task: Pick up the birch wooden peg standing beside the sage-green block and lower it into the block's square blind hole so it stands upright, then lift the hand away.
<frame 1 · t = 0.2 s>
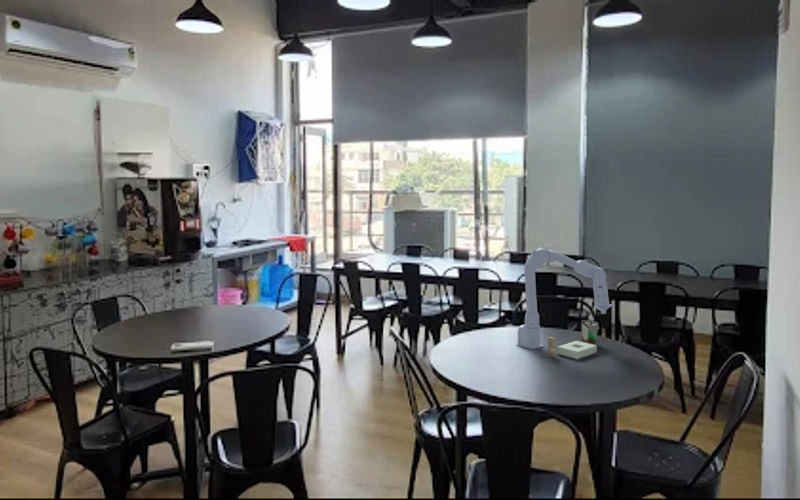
hand: (605, 326, 272), 11 cm above the table, tool pointing down, fingers open, 7 cm apart
socket block: (576, 354, 268), on the table
food container: (591, 345, 282), on the table
peg: (551, 356, 265), on the table
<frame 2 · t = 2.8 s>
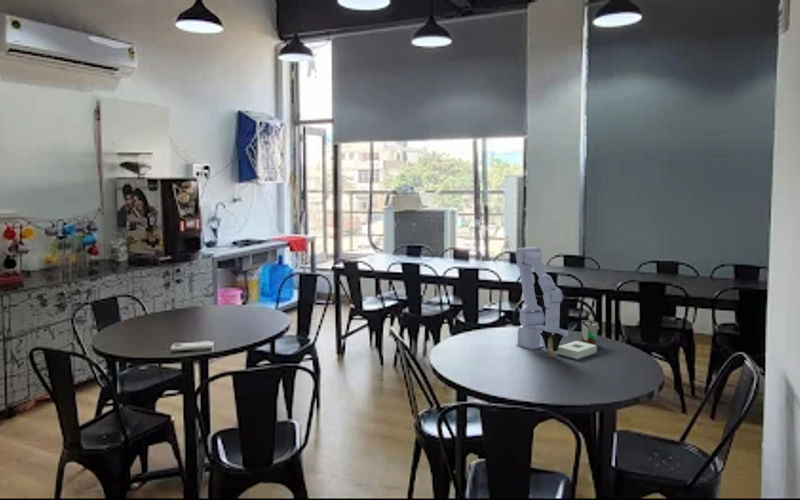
hand: (551, 349, 265), 3 cm above the table, tool pointing down, fingers closed on peg, 3 cm apart
peg: (551, 356, 265), on the table, touching gripper
everything else where it was.
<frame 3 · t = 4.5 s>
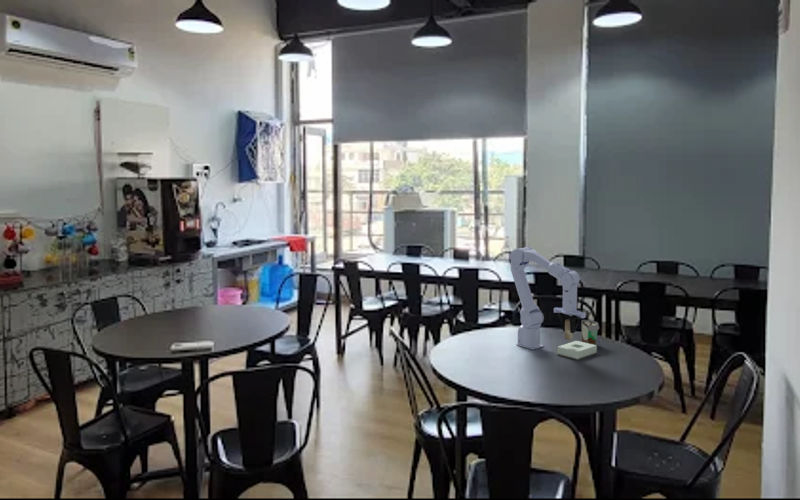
hand: (568, 331, 266), 10 cm above the table, tool pointing down, fingers closed on peg, 3 cm apart
peg: (568, 338, 266), point 7 cm above the table, touching gripper
everything else where it was.
when the fingers open (5 cm above the table, at t = 6.2 s): peg drops 1 cm, resting on socket block.
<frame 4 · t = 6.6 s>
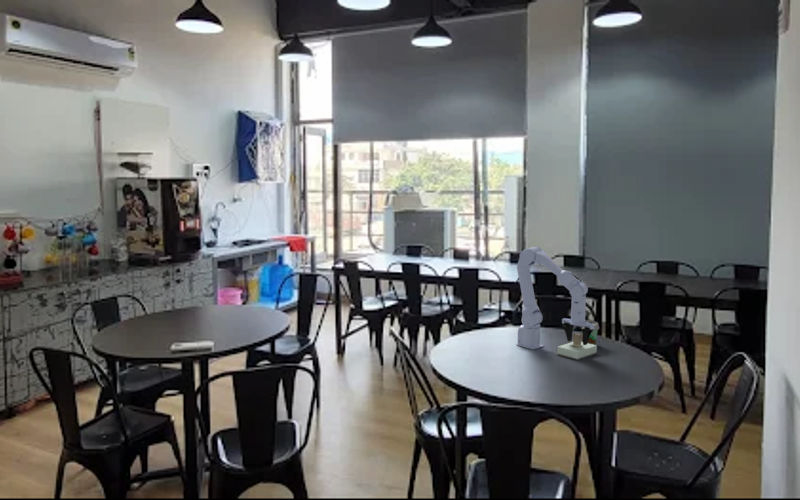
hand: (577, 342, 268), 5 cm above the table, tool pointing down, fingers open, 7 cm apart
peg: (576, 352, 268), point 1 cm above the table, touching socket block
everything else where it was.
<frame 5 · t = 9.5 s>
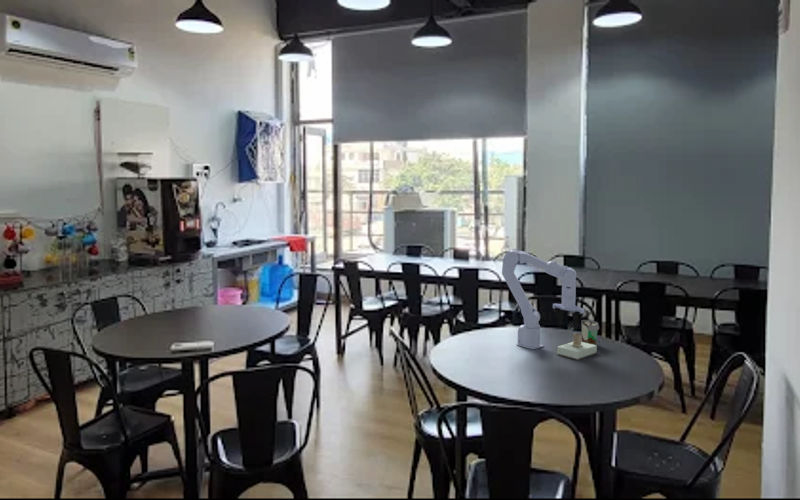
hand: (567, 327, 274), 10 cm above the table, tool pointing down, fingers open, 7 cm apart
nothing on the table moved.
at the end: peg 0.1 cm off-centre on the socket block, point 0.5 cm above the socket block's base; peg tilted 1°; the gripper is holding nothing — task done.
